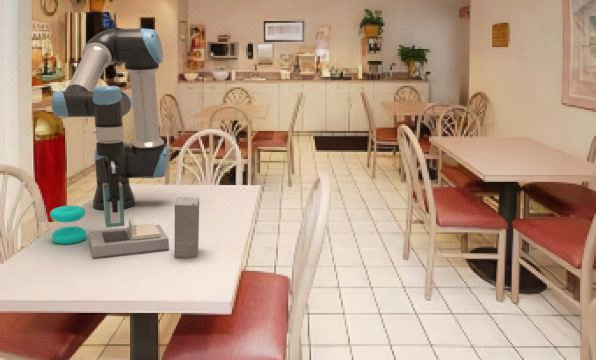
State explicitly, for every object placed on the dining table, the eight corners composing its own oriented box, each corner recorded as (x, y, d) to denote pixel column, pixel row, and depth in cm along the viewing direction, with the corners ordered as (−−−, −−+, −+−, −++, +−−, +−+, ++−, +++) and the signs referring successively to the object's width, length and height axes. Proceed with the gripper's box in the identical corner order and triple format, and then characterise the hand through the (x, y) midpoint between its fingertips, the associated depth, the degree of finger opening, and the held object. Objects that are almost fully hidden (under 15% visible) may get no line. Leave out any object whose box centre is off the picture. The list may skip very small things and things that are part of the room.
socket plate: (89, 242, 187) (88, 231, 186) (159, 235, 195) (159, 224, 194) (93, 258, 173) (92, 246, 172) (168, 250, 180) (168, 238, 179)
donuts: (70, 203, 194) (91, 207, 189) (72, 233, 196) (93, 238, 191) (42, 209, 186) (64, 214, 181) (45, 241, 188) (66, 247, 183)
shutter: (127, 228, 189) (126, 216, 188) (153, 226, 191) (153, 213, 191) (132, 239, 178) (131, 226, 177) (160, 236, 180) (159, 223, 180)
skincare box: (176, 249, 181) (174, 196, 178) (201, 248, 182) (199, 196, 178) (173, 258, 173) (171, 203, 170) (199, 258, 173) (197, 203, 170)
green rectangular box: (122, 221, 184) (120, 181, 182) (124, 225, 179) (122, 185, 177) (105, 223, 182) (102, 183, 180) (106, 227, 178) (103, 186, 175)
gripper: (93, 137, 183) (98, 214, 187) (98, 146, 166) (103, 229, 171) (120, 136, 186) (124, 212, 190) (127, 144, 169) (131, 226, 174)
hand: (114, 220), depth 181 cm, fingers closed on green rectangular box, 5 cm apart
